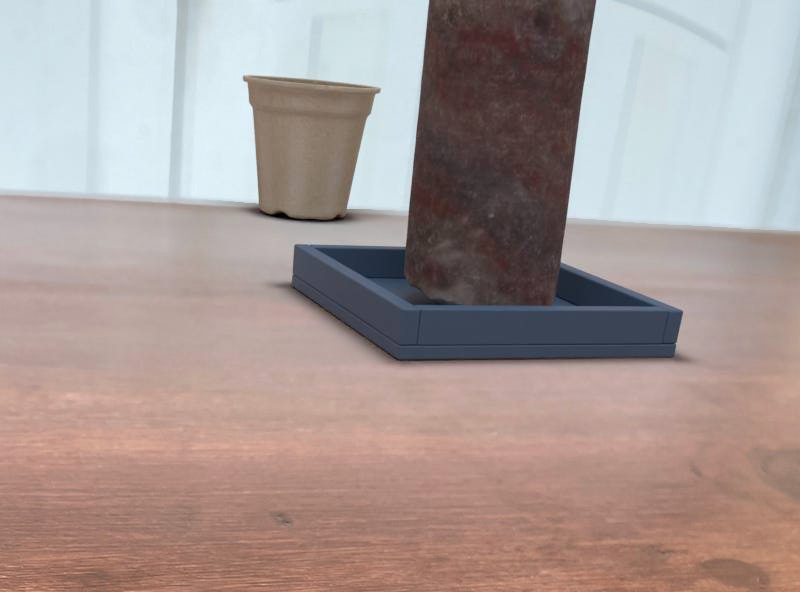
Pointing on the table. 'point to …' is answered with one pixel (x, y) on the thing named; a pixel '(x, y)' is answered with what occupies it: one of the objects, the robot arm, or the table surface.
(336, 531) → the table surface
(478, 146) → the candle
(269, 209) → the flower pot
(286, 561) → the table surface
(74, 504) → the table surface
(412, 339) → the candle dish
